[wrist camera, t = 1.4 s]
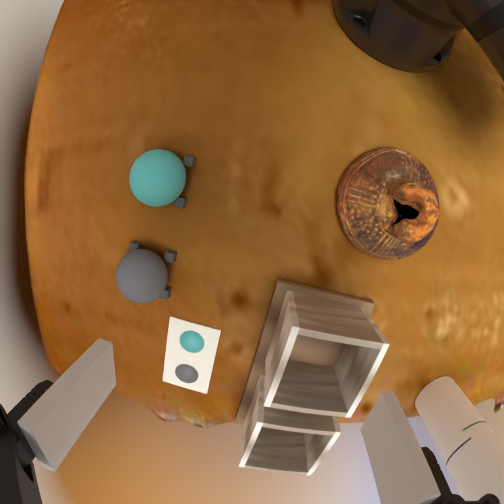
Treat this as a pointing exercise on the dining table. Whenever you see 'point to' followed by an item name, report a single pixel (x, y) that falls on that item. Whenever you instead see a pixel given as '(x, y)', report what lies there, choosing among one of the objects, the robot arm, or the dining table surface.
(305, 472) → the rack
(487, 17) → the robot arm
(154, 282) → the ball charcoal
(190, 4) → the dining table surface
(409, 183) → the brown patterned pot lid
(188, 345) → the dot card
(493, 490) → the cylindrical container
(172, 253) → the small grey cubes
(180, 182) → the ball teal
